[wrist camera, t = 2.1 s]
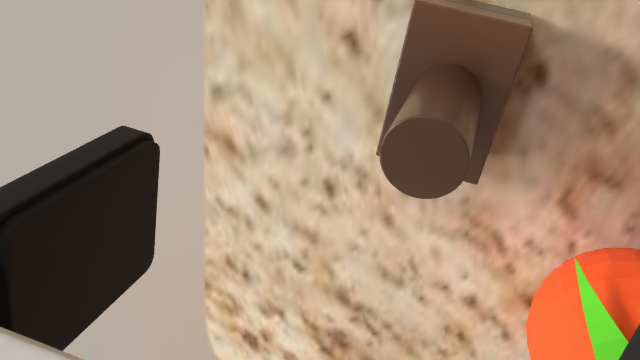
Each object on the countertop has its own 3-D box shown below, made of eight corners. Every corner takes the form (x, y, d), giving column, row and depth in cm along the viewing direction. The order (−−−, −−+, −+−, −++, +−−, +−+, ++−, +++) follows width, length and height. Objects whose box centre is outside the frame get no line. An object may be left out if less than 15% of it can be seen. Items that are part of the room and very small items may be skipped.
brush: (426, -11, 22) (376, 28, 14) (530, 13, 21) (539, 69, 13) (390, 130, 24) (331, 228, 17) (481, 156, 24) (464, 272, 16)
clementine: (486, 231, 25) (477, 333, 19) (652, 168, 22) (706, 266, 16) (565, 367, 27) (580, 502, 20) (730, 327, 23) (807, 473, 17)
